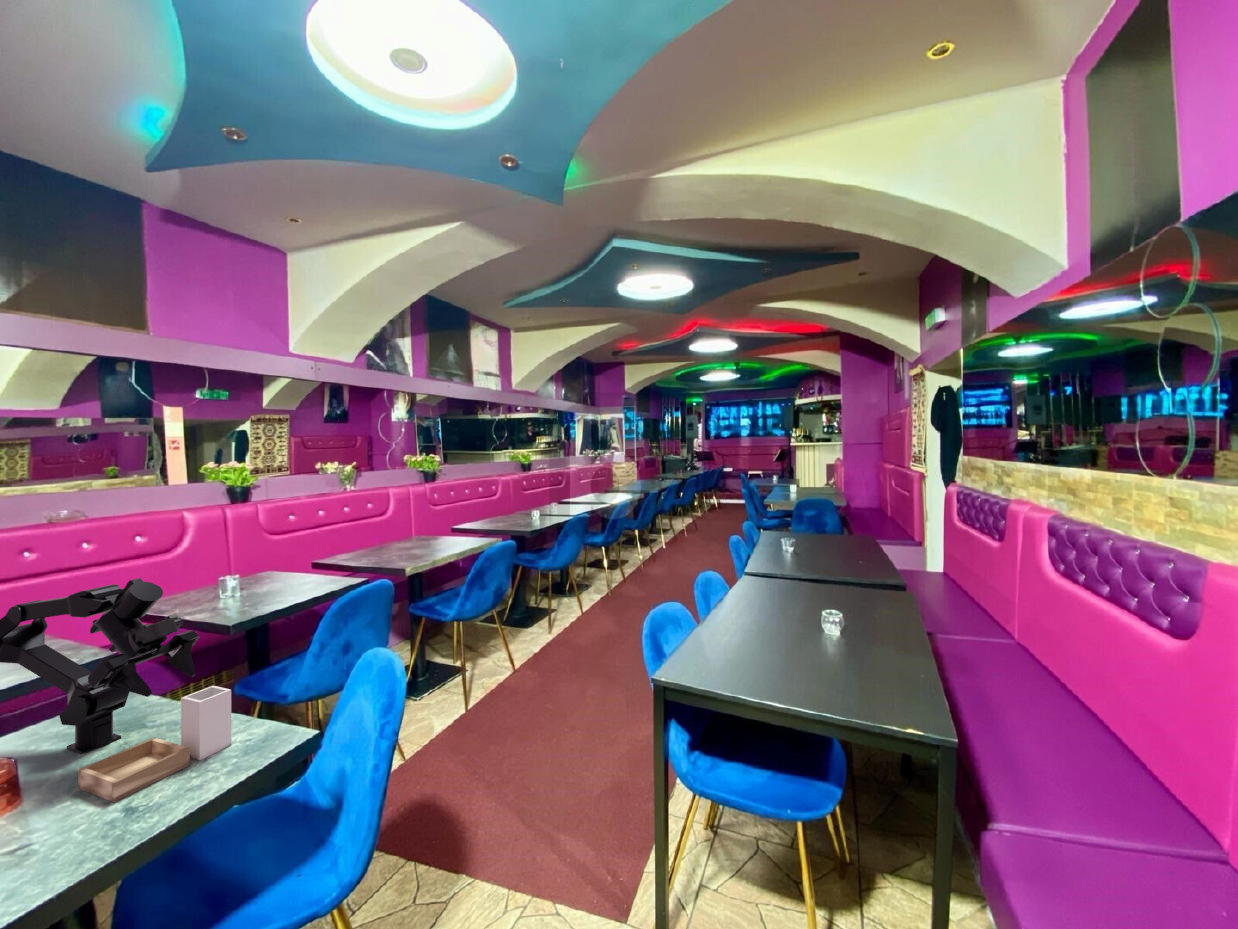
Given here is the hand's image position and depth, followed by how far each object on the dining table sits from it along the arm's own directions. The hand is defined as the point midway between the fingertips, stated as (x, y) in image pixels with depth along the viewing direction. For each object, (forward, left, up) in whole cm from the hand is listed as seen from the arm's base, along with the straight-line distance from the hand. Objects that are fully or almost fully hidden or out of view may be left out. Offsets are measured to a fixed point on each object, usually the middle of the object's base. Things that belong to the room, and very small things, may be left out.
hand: (172, 685), depth 105 cm
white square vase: (+8, +2, -14) cm, 16 cm away
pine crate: (+5, -9, -14) cm, 17 cm away
